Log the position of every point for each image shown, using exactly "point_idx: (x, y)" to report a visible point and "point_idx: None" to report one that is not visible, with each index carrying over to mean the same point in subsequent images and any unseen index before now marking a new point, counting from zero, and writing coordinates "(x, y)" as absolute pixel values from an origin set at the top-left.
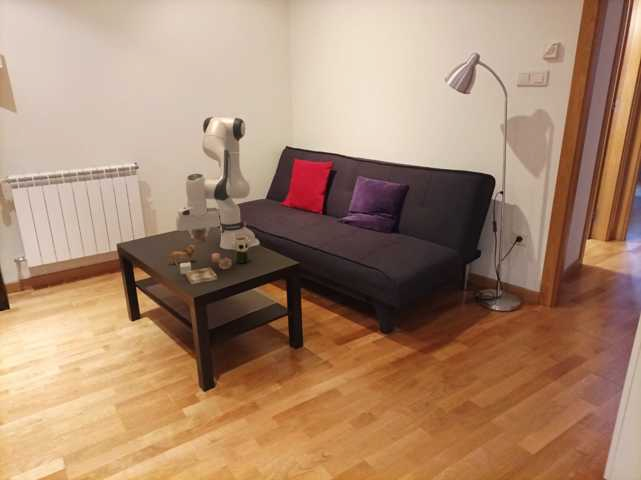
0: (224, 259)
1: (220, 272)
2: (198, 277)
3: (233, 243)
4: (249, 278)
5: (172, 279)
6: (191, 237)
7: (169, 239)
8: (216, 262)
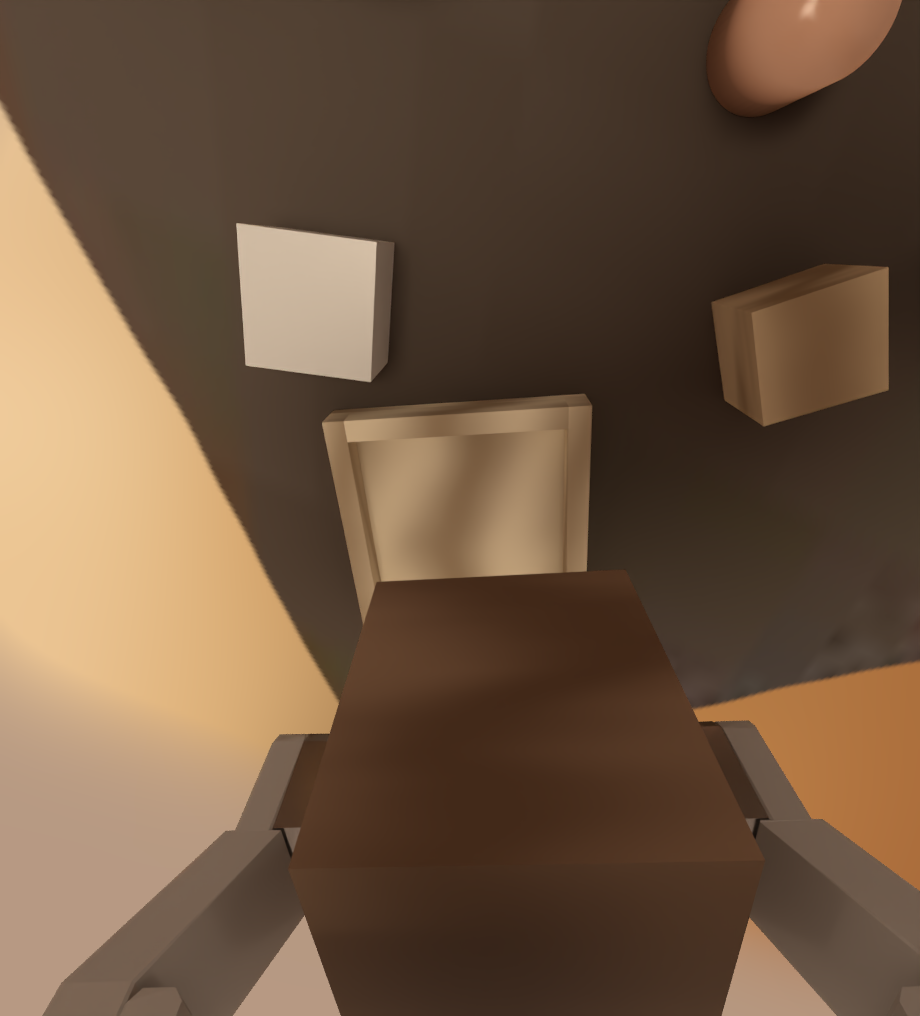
0: (826, 332)
1: (661, 465)
2: (437, 533)
3: None
4: (815, 674)
5: (210, 451)
6: (279, 763)
7: None
8: (747, 114)
